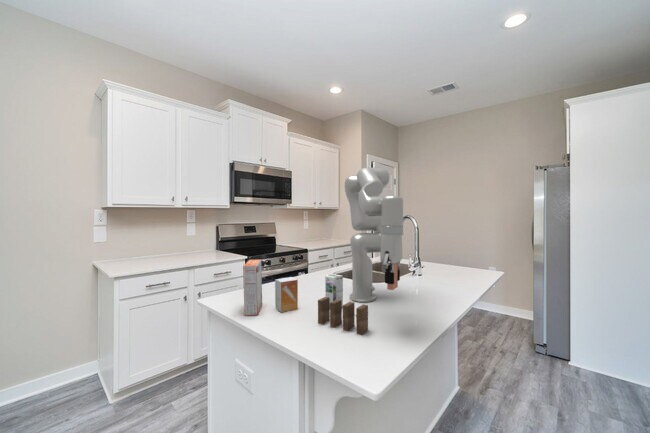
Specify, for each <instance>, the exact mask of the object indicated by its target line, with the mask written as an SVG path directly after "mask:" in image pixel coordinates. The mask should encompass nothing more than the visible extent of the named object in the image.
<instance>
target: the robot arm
mask: <svg viewBox="0 0 650 433" xmlns="http://www.w3.org/2000/svg"><path fill="white" fill-rule="evenodd" d="M389 182H390V173H389V171H388V169H386V168H384V167H363V168H362V167H361V169H359V170H358V171H357V173H356V175H351V176H348V177H346V178H345V181H344V192H345V195H346V198H347V200H348V203H349V211H350V221H351V227H352V229H353V230H354V231H357V232H359V233H355V234H352V236H350V241H349V242H350V244H349V245H350V250H351V260H352V261H351V262H352V264H351V268H352V273H351V274H352V293H351V294H349V300H351V301H352V302H357V303H370V302H373V301H375V300H376V295H375V294H374V293H373V291H375V290H376V289H375V287H374V286H373V260H372V258H371V257H369V255H368V254H370V253H371V254H373V253H375V254H376V253H380V254H379V255H380V256H379V257H380V258H379V260H380V263H381V264H382V266H383V268H384V270H383V271H384V283H385V284H386V285H387V284H394V273H393V267H394V264H395V263H398V282H399V281H400V280H401V277H400V276H401V261H402V259H403V238H402V236H404V198H403V197H402V196H400V195H386V196H383V195H382V193H383V190H384V189H385V188H386V186H388V184H389ZM381 195H382V196H381ZM371 231H372V232H371ZM389 265H391V268H390V266H389Z"/></svg>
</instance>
